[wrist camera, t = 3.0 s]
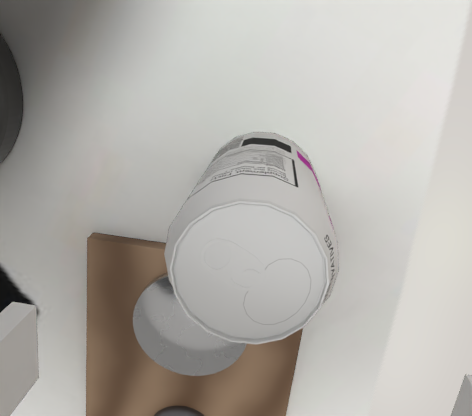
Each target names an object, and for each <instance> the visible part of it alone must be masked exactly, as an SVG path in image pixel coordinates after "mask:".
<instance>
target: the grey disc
mask: <svg viewBox="0 0 472 416" xmlns="http://www.w3.org/2000/svg"><path fill="white" fill-rule="evenodd" d="M154 416H204V415H203V414H202V413H201V412H199V411H197V410H195V409H193V408H190V407H186V406H169V407H166V408H163V409H161V410H159V411H158V412H157V413H156V414H155V415H154Z"/></svg>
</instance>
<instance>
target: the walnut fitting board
mask: <svg viewBox="0 0 472 416" xmlns="http://www.w3.org/2000/svg"><path fill="white" fill-rule="evenodd" d="M165 247H166V243H161V242H154V241H147V240H140V239H134V238H127V237H120V236H113V235H106V234H100V233H92V234H91V235H90V236H89V237H88V238H87V358H86V416H154V415H155V414H156V413H157V412H158V411H159V410H161V409H163V408H166V407H169V406H186V407H190V408H193V409H195V410H197V411H199V412H201V413H202V414H203V415H204V416H286V411H287V406H288V401H289V396H290V390H291V385H292V380H293V375H294V370H295V365H296V360H297V355H298V350H299V345H300V340H301V335H302V330H303V328H302V329H300V330H298V331H296V332H295V333H293V334H291V335H289V336H287V337H286V338H284V339H282V340H277V341H272V342H267V343H262V344H257V345H256V344H247V345H246V347H245V349H244V351H243V353H242V354H241V356H240V357H239V358H238V359H237V360H236V361H235V362H234V363H233V364H232V365H230V366H229V367H228V368H226V369H224V370H222V371H220V372H217V373H214V374H210V375H203V376H190V375H183V374H179V373H176V372H173V371H170V370H168V369H166V368H164V367H162V366H160V365H159V364H157V363H156V362H155V361H153V360H152V359H151V358H150V357H149V356H148V355H147V354H146V353H145V352H144V350H143V349H142V347H141V346H140V344H139V342H138V340H137V338H136V336H135V332H134V328H133V313H134V309H135V305H136V303H137V301H138V299H139V297H140V295H141V294H142V292H143V291H144V289H145V288H146V286H147V285H148V284H149V283H150V282H151V281H153V280H154V279H155V278H157V277H158V276H160V275H162V274H164V273H166V272H167V266H166V261H165V255H164V252H165Z"/></svg>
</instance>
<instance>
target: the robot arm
mask: <svg viewBox="0 0 472 416" xmlns="http://www.w3.org/2000/svg"><path fill="white" fill-rule="evenodd" d="M22 109H23V99H22V89H21V83H20V78H19V74H18V70H17V67H16V64H15V61H14V59H13V56H12V54H11V52H10V50H9V48H8V46H7V44H6V42H5V40H4V39H3V37H2V35H1V34H0V163H1V162H2V161H3V160H4V158H5V157H6V156H7V155H8V153H9V152H10V150H11V148H12V147H13V145H14V143H15V140H16V138H17V135H18V132H19V129H20V124H21V119H22ZM38 378H39V370H38V341H37V312H36V305H29V304H23V303H17V302H12V303H11V304H10V305H8V306H7V307H6V308H5V309H4V310H3V311H2V312H1V313H0V416H10V415H11V414H12V412H13V411H14V410H15V408H16V407H17V406H18V404H19V403H20V402H21V400H22V399H23V398H24V396H25V395H26V394H27V393H28V391H29V390H30V389H31V387H32V386H33V385H34V383H35V382H36V381H37V379H38ZM451 416H472V375H467V374H466V375H465V377H464V380H463V383H462V385H461V388H460V391H459V394H458V397H457V400H456V402H455V405H454V408H453V411H452V414H451Z"/></svg>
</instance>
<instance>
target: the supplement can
mask: <svg viewBox="0 0 472 416" xmlns="http://www.w3.org/2000/svg"><path fill="white" fill-rule="evenodd" d="M164 255H165V261H166V266H167V272H168V277H169V281H170V283H171V285H172V286H173V290H174V294H175V296H176V298H177V299H178V301H179V303H180V304H181V306H182V308H183V309H184V311H185V313H186V314H187V316H188V317H190V318H191V319H192V320H193V321H194V322H196V323H197V324H198V325H199V326H200V327H201V328H203V329H204V330H205V331H206V332H208V333H211V334H213V335H215V336H218V337H220V338H222V339H225V340H227V341H230V342H237V343H246V344H256V345H257V344H262V343H267V342H272V341H277V340H282V339H284V338H286V337H287V336H289V335H291V334H293V333H295V332H296V331H298V330H300V329H302V328H303V327H305V326H306V324H307V323H308V322H309V321H310V320H311V319H312V318H313V316H314V315H315V314H316V313H317V312H318V311H319V309H320V308H321V306H322V304H323V303H324V302H325V301H326V300H327V299H328V297H329V296H330V294H331V291H332V288H333V285H334V283H335V280H336V277H337V274H338V271H339V259H338V241H337V238H336V235H335V232H334V229H333V226H332V223H331V219H330V216H329V213H328V210H327V207H326V204H325V201H324V198H323V195H322V192H321V189H320V186H319V183H318V179H317V176H316V173H315V171H314V169H313V167H312V164H311V162H310V160H309V158H308V156H307V155H306V154H305V153H304V152H303V151H302V150H301V149H300V148H299V147H298V146H297V145H296V144H295V143H294V142H293V141H291V140H289V139H287V138H284V137H282V136H280V135H278V134H275V133H264V132H253V133H249V134H246V135H242V136H239V137H236V138H234V139H233V140H231V141H230V142H229V143H227V144H226V145H225V146H223V147H222V148H221V149H220V150H219V151H218V153H217V154H216V156H215V157H214V159H213V160H212V162H211V164H210V165H209V167H208V168H207V170H206V171H205V173H204V174H203V176H202V177H201V179H200V181H199V182H198V184H197V185H196V187H195V188H194V190H193V191H192V193H191V194H190V196H189V197H188V199H187V201H186V202H185V204H184V205H183V207H182V208H181V210H180V211H179V213H178V214H177V216H176V218H175V219H174V221H173V222H172V224H171V225H170V227H169V232H168V237H167V242H166V247H165V252H164Z"/></svg>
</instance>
